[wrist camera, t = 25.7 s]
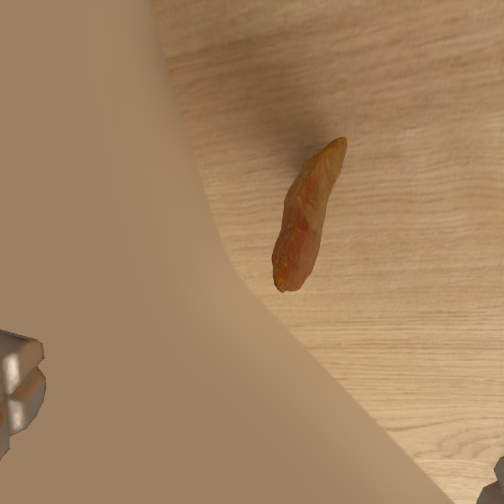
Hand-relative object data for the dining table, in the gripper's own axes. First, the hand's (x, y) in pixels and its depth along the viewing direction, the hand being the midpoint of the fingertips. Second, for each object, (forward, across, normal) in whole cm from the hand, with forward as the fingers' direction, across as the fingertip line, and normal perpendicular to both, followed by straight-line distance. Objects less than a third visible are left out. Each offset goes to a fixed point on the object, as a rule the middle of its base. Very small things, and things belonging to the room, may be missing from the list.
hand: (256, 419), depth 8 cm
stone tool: (+21, 0, 0) cm, 21 cm away
